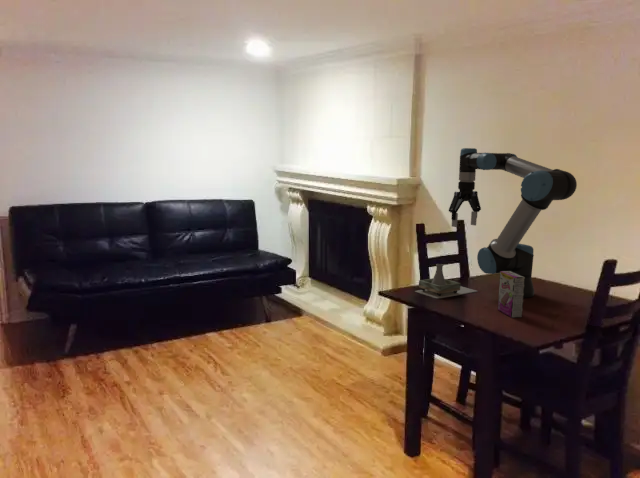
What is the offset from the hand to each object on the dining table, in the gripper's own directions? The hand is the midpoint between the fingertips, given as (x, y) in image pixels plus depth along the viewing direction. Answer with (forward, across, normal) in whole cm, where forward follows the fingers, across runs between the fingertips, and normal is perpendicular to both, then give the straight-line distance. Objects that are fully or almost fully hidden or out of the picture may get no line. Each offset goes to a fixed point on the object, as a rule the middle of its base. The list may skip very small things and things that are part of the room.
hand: (463, 226), depth 276 cm
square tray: (+28, +22, +7) cm, 37 cm away
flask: (+26, +23, +7) cm, 35 cm away
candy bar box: (+29, +22, +45) cm, 58 cm away
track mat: (+28, +17, +7) cm, 34 cm away
